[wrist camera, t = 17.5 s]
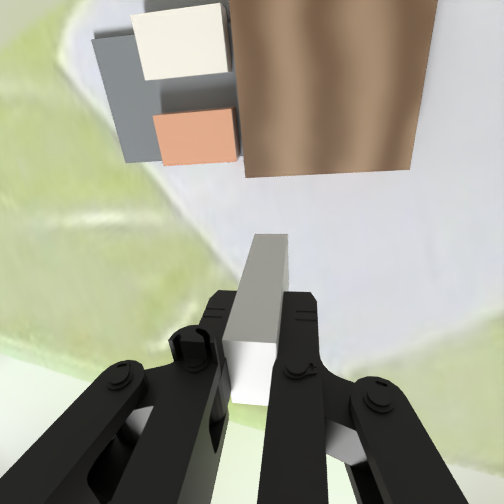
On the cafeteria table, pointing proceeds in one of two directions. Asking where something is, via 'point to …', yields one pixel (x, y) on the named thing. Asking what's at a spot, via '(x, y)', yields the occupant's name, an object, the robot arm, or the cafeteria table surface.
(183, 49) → the cream tile
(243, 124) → the deck
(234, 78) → the mat
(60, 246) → the cafeteria table surface
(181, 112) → the terracotta tile
